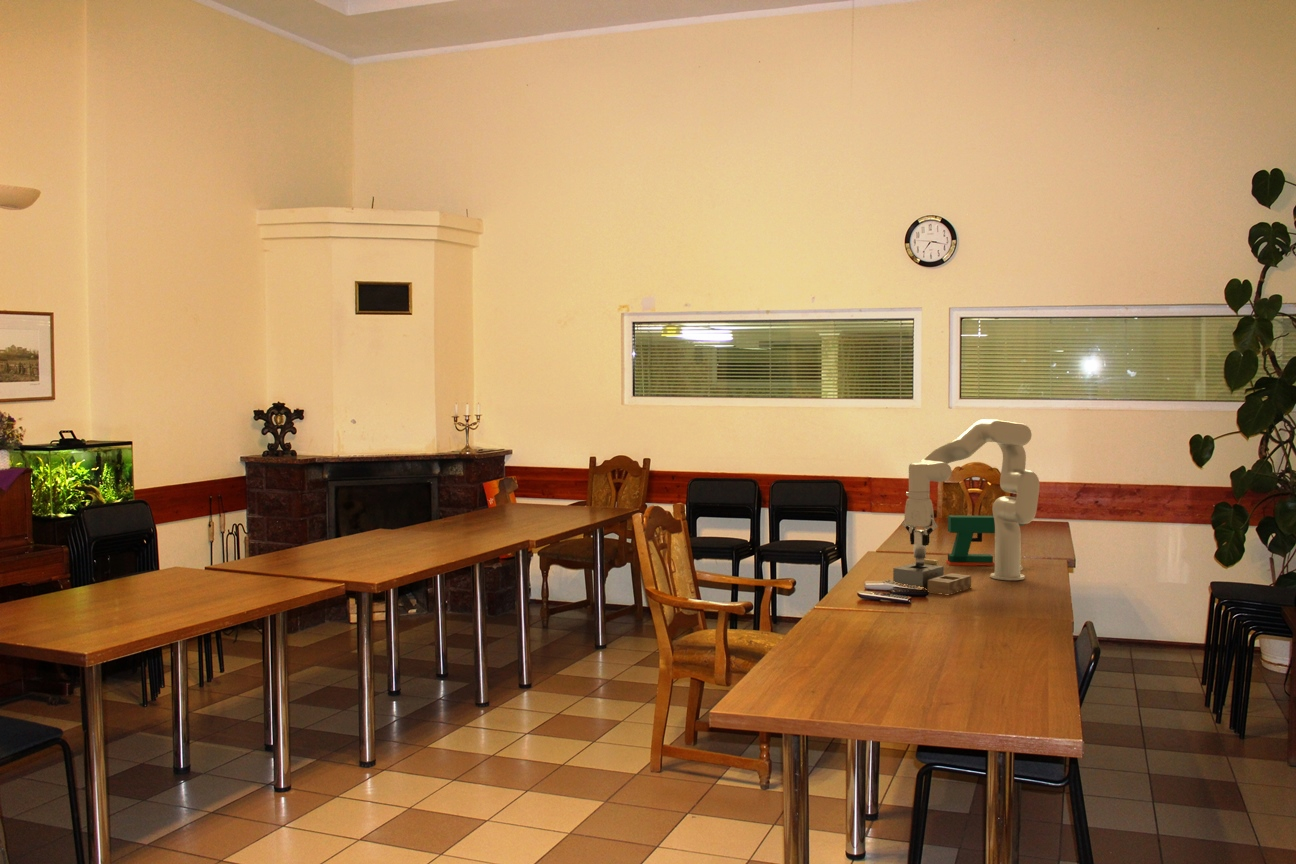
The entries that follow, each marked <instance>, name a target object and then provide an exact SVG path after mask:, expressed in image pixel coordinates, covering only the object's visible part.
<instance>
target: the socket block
mask: <svg viewBox="0 0 1296 864" xmlns="http://www.w3.org/2000/svg"><path fill="white" fill-rule="evenodd" d="M944 570H945V569H944V565H938V566H937V565H929V564H924V566H916V562H912V563H908V564H904V565H900V566H895V567H894V568H893V571H892V574H893V575H892V576H893V577H892V581H895V582H898V583H902V584H908V585H916V586H920V587H924V588H926V589H928V580H930V579H933V578H937V577H940V576H944V575H945V574H944Z"/></svg>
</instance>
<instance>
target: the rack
mask: <svg viewBox="0 0 1296 864" xmlns="http://www.w3.org/2000/svg"><path fill="white" fill-rule="evenodd" d="M970 587H971V588H972V575H968V574H959V573H947V574H944V576H940V577H937V578H933V579H930V580H928V590H927V592H928V591H929V592H931V593H930V594H936V593H942V594H941V595H943V594H951V593H954V592H957V591H960V590H963V591H965V590H964V589H966V590H968V589H967V588H969V589H971V588H970ZM960 592H961V591H960ZM957 593H958V592H957ZM954 594H955V593H954ZM951 595H952V594H951Z"/></svg>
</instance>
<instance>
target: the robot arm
mask: <svg viewBox="0 0 1296 864" xmlns="http://www.w3.org/2000/svg"><path fill="white" fill-rule="evenodd" d="M1032 435H1033V434H1032V430H1031V428H1030V427H1029V426H1028V425H1026V424H1025V423H1020V422H1011V421H1005V420H1000V419H985V418H984V419H983V418H981V419H978V420H976V421H975V422H974V423H972V424H971V425H970V426H969V427H967V428H966V429H965V430H964V431H963V432H962V433H961V434H959V435H958V437H956V438H955V439H953V440H951V441H950V442H947V443H946V444H944V445H942V446H939V447H936V449H934V450H932V451H930V453H928V454H927V455H926V456H924V457H923V458H922V460H920V462H911V463H909V465H908V491H906V493H905V495H906V496H907V497H908V498H906V502H905V507H904V517H903V518H904V519H903V521H902V523H901V526H902V527H904V528H905V529H906V531H908V534H909V541H910V545H913V546H914V530H917V529H916V528H917V527H918V528H922V530H924V535H923V545H924V546H926V547H927V546H929V545H930V535H931V534H932V533H933V531H935V530H936V529H937V528H939V526H938V524H937V523H936V521H935V516H934V515H935V514H934V506H933V501H932V499H930V498H931V497H930V496H931V493H930V490H931V489H930V487H931V485H930V482H938V483H939V482H941V483H942V482H945V481H948V480H949V479H950V478H951V476H952V474H953V473H952V471H953V470H952V467H951V466H950V465H949V464H950V463H953V462H957V461H959V462H960V461H962V460H966V459H969V458H970V457H971V456H973V454H975V453H976V452H978V450H979V449H981V448H983V446H985V444H987V443H996V444H997V445H998V446H999V448H1000V450H1001V454H1002V463H1001V469H1000V470H1001V471H1000V479H999V486H1000V489H1001V490H1002V491H1003V492H1004V493H1005V492H1006V493H1009V494H1014V495H1015V494H1016V496H1008V495H1006V496H1005V495H1004V496H1003V495H1002V496H1000V497H998V498H996V499H995V501H994V502H993V503H992V516H993V517H994V523H995V533H994V570H993V571H994V572H991V573H990V574H989V575H990V578H992V579H994V580H1000V581H1001V580H1002V581H1023V580H1025V575H1024V574H1021V571H1022V570H1023V569H1024V567H1023V565H1021V560H1022V559H1021V558H1022V557H1021V556H1022V554H1021V553H1022V552H1021V551H1022V550H1021V544H1022V543H1021V542H1022V532H1021V526H1019V524H1018V523H1021V524H1026V525H1027V524H1030V523H1031V522H1032V521H1034V519H1035V517H1036V515H1037V510H1038V503H1039V494H1040V486H1041V485H1040V480H1039V479H1040V478H1039V477H1038V475H1037V473H1035V472H1034V471H1032V470H1028V469H1026V461H1027V454H1026V451H1025V447H1024V446H1026V445H1027V444H1028V443H1030V441H1031V439H1032Z"/></svg>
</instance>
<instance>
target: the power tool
mask: <svg viewBox="0 0 1296 864" xmlns="http://www.w3.org/2000/svg"><path fill="white" fill-rule="evenodd" d="M1018 524H1019V527H1021V526H1026V525H1027V524H1021V523H1018ZM947 532H949V533H950V534H955V539H954V543H953V545H952V550H951V553H947V559H946V560H945V563H946V562H947V563H948V564H949V565H948V564H947V563H946V564H947V565H948V566H977V565H994V566H995V561H994V556H993V555H991V554H989V553H988V554H987V553H985V554H984V553H983V554H981V553H980V554H979V553H977V554H975V553H969V552H970V548H971V545H972V543H973V542H976V543H981V542H983V534H995V523H994V517H993V515H963V514H962V515H961V514H960V515H956V514H955V515H954V514H952V515H948V514H947ZM974 534H977V535H976V537H974Z"/></svg>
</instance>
